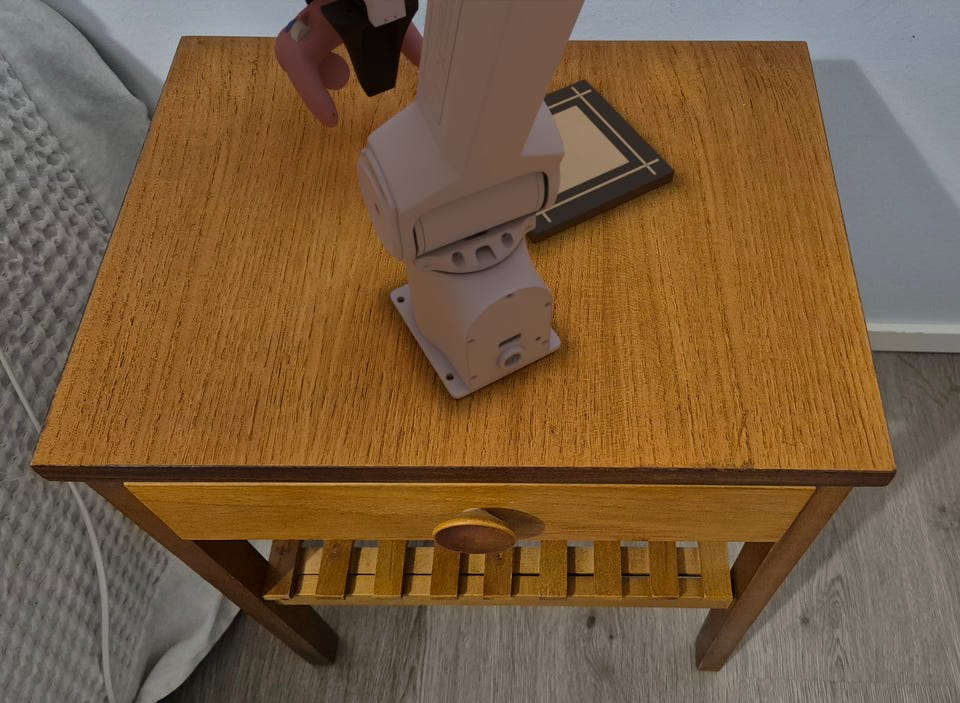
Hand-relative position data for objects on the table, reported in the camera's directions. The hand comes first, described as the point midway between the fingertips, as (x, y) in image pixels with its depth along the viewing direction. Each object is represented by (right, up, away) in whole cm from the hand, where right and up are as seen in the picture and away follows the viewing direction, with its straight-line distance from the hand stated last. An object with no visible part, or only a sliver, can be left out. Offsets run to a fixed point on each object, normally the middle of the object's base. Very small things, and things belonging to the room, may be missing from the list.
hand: (357, 60), depth 56 cm
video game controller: (0, -1, +1) cm, 2 cm away
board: (+15, -6, +6) cm, 17 cm away
